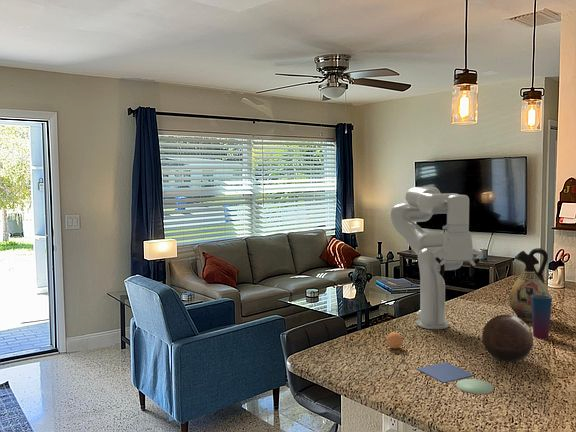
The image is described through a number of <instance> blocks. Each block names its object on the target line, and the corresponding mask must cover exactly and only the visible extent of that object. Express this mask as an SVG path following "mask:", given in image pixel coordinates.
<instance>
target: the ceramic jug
mask: <svg viewBox="0 0 576 432" xmlns="http://www.w3.org/2000/svg"><path fill="white" fill-rule="evenodd" d="M535 254H540V255H542V256H543V258H542V263H541V265H540V267H539V268H538V271H537V269H536V267H535V265H539V264H540V261H539V259H537V257H535V256H534V255H535ZM548 259H549V256H548V252H547V251H546V250H545V249H544V248H540V247H539V248H537V247H536V248H533V249H532V250H531V251H529V253H526V252H525V250H522V251H520V252H519V253H518V254H516V255H515V256H514V260H515V261H518V262H521V263H523V264H524V265H525V269H524V270H523V272H522V273H521V274H520V275H519V277H518V278H517V279H516V281H514V284H513V285H512V287H511V290H510V293H509V298H508V299H509V306H510V308H511V310H512V311H513V312H514V313H515V316H516V317H518V318H519V319H521V320H522V321H524V322H528V323H529V322H530V323H533V320H532V300H531V296H532V295H536V294H539V295H548V296H551V295H550V291H549V289H548V287H547V285H546V284H545V279H544V275H543V272H544V271H545V269H546V266H547V263H548Z"/></svg>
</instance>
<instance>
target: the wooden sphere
mask: <svg viewBox="0 0 576 432" xmlns="http://www.w3.org/2000/svg"><path fill="white" fill-rule="evenodd" d="M481 339H482V343H483V346H484V349H485V350H486V351H487V353H488V354H489V355H490V356H491V357H493V358H494V359H495V360H498V361H500V362H502V363H512V364H513V363H517V362H519V361H520V362H521V361H522V360H524V359H525V358H526V357H528V355H529V354H530V352H531V351H532V349H533V346H534V345H533V344H534V336H533V331H531V328H530V327H529V325H528V324H527V323H526V321H522V320H521V319H519V318H518V317H517V316H516V315H515V316H514V315H513V314H512V315H510V314H499V315H495V316H494V317H492V318H490V319H489V320H488V321H487V322H486V324H485V325H484V327H483V330H482V335H481Z"/></svg>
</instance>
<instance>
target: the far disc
mask: <svg viewBox="0 0 576 432" xmlns="http://www.w3.org/2000/svg"><path fill="white" fill-rule="evenodd" d="M455 386H456V387H457V388H458V389H459V390H460V391H463V392H465V393H469V394H473V395H486V394H490V393H492V392H493V391H494V389H495V388H494V386H493V384H491V383H489V382H487V381H485V380H481V379H478V378H477V379H475V378H462V379H459V380H457V382H456V384H455Z"/></svg>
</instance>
